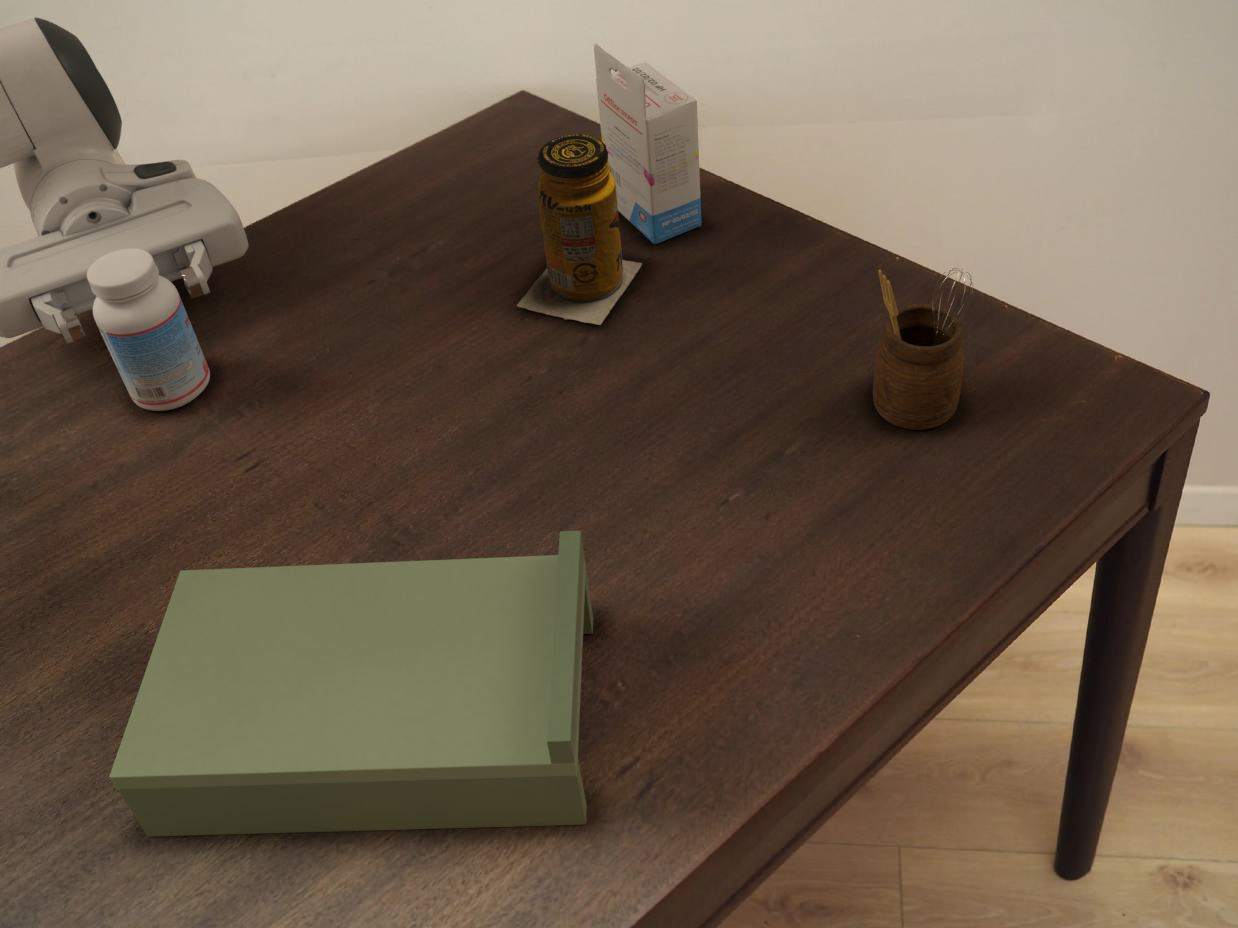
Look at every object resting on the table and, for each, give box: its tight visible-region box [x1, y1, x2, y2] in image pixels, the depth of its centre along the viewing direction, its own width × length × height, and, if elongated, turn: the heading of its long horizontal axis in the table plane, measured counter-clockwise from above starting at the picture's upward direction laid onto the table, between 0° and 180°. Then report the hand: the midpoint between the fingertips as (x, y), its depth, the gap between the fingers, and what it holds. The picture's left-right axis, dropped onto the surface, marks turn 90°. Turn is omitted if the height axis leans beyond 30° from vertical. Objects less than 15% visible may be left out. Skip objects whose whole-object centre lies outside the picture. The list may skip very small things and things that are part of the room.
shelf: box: [109, 530, 594, 837], centre depth 71 cm, size 24×14×8 cm, turn 89°
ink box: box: [593, 43, 702, 245], centre depth 104 cm, size 8×5×15 cm, turn 29°
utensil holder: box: [872, 267, 974, 431], centre depth 85 cm, size 6×6×12 cm
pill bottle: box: [87, 249, 211, 412], centre depth 93 cm, size 6×6×11 cm
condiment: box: [516, 133, 643, 326], centre depth 98 cm, size 7×8×12 cm
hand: (136, 310), depth 94 cm, fingers open, 8 cm apart
